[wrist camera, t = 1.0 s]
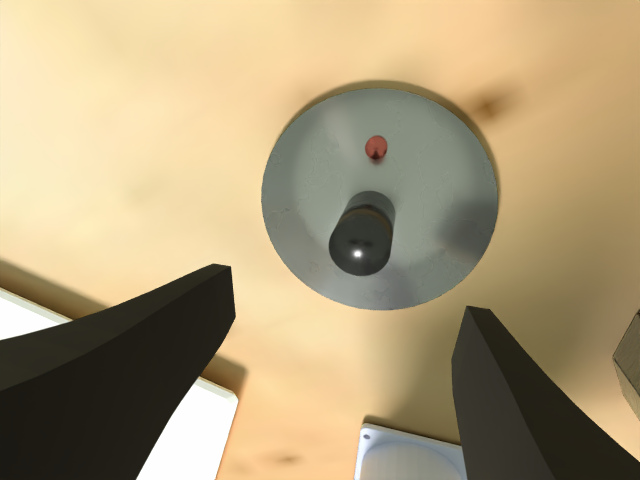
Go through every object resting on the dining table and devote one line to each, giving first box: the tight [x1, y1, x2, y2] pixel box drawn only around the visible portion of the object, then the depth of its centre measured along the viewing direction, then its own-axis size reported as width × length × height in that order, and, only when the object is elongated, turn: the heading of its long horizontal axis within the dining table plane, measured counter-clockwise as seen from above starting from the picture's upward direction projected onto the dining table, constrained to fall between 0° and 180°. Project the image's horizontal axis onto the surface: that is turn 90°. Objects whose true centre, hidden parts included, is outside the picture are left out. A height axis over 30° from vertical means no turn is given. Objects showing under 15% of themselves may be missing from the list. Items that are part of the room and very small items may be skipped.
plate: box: [0, 288, 239, 480], centre depth 33 cm, size 26×26×2 cm
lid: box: [261, 88, 498, 310], centre depth 16 cm, size 12×12×5 cm
